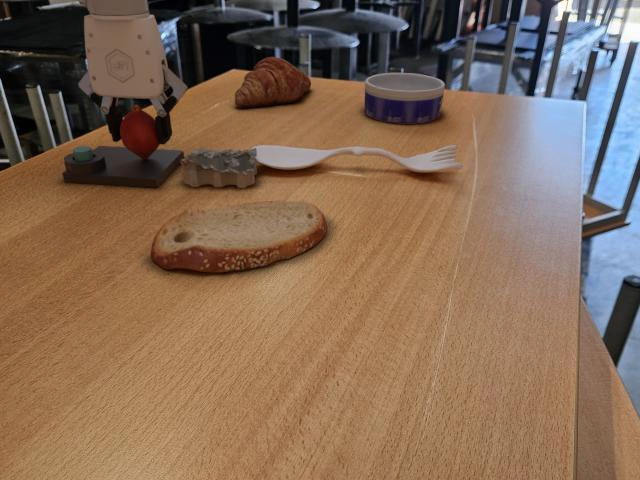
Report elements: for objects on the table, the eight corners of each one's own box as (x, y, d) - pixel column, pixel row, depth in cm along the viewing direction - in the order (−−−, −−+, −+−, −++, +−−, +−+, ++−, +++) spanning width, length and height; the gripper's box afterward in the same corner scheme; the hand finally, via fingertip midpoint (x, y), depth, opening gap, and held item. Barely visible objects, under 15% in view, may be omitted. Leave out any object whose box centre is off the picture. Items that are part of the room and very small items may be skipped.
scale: (61, 182, 83) (56, 162, 81) (99, 154, 93) (95, 135, 91) (156, 188, 81) (153, 168, 80) (184, 159, 91) (182, 140, 89)
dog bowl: (374, 99, 121) (376, 69, 118) (446, 107, 118) (450, 75, 114) (354, 119, 110) (356, 86, 106) (434, 128, 106) (438, 94, 102)
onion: (123, 154, 89) (113, 100, 84) (161, 150, 90) (153, 97, 86) (126, 167, 84) (116, 111, 79) (166, 162, 86) (158, 107, 81)
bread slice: (335, 220, 74) (336, 193, 72) (288, 292, 60) (288, 260, 58) (208, 202, 78) (205, 176, 76) (137, 265, 64) (130, 235, 62)
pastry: (310, 110, 114) (310, 67, 110) (233, 109, 114) (230, 66, 109) (311, 89, 128) (311, 50, 123) (242, 88, 128) (239, 49, 123)
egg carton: (179, 187, 82) (175, 159, 80) (192, 168, 88) (188, 142, 86) (253, 189, 81) (251, 161, 79) (261, 170, 88) (259, 143, 85)
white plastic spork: (460, 185, 84) (464, 162, 82) (245, 175, 86) (243, 153, 84) (454, 163, 91) (457, 142, 89) (256, 155, 93) (255, 133, 91)
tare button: (71, 162, 82) (69, 151, 81) (80, 155, 84) (77, 145, 83) (88, 163, 82) (86, 152, 81) (97, 156, 84) (94, 146, 83)
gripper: (41, 5, 73) (75, 145, 83) (172, 9, 71) (190, 152, 82) (69, -2, 79) (98, 129, 89) (191, 2, 77) (205, 135, 88)
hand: (142, 139), depth 85 cm, fingers open, 6 cm apart
